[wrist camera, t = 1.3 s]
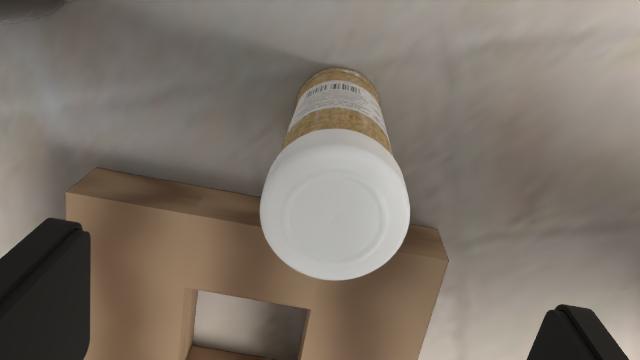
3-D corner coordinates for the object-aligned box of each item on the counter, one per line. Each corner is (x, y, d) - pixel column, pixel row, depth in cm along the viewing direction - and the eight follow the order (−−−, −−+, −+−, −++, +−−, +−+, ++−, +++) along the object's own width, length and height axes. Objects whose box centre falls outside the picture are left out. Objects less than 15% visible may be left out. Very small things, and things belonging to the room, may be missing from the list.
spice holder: (437, 229, 30) (448, 260, 27) (377, 429, 36) (381, 474, 33) (96, 167, 29) (65, 192, 26) (93, 381, 36) (68, 422, 32)
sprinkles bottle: (289, 139, 28) (246, 270, 16) (304, 56, 27) (269, 131, 14) (370, 156, 28) (390, 299, 16) (391, 75, 27) (431, 164, 14)
